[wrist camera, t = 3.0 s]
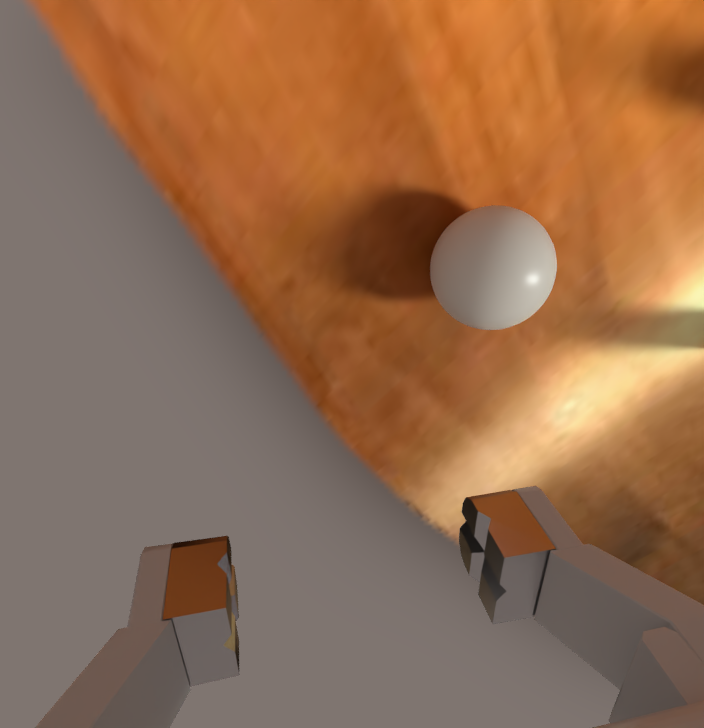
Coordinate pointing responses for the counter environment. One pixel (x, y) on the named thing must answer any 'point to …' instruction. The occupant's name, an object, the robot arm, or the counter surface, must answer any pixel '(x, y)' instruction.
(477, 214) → the ball
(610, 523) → the counter surface
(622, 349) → the counter surface
